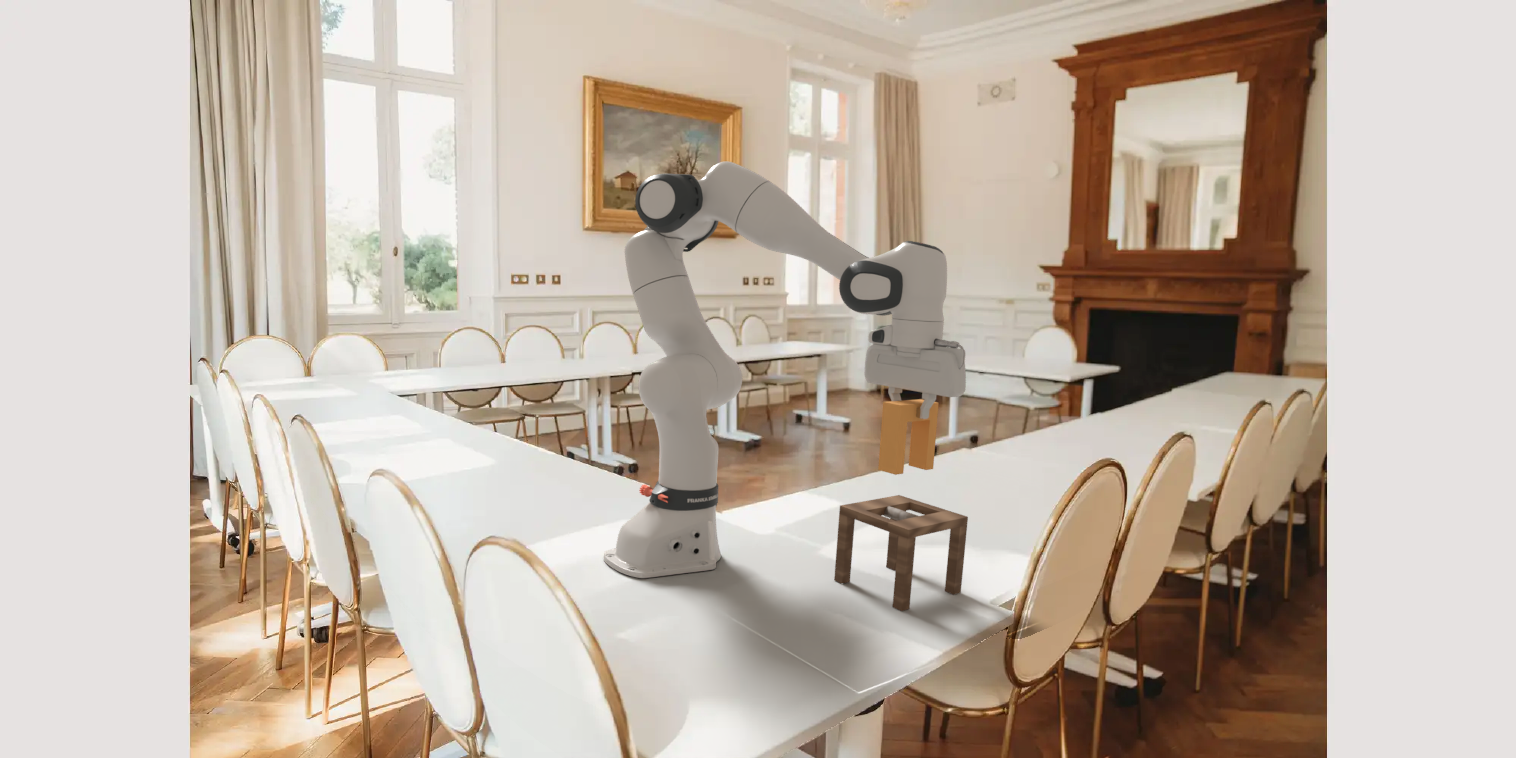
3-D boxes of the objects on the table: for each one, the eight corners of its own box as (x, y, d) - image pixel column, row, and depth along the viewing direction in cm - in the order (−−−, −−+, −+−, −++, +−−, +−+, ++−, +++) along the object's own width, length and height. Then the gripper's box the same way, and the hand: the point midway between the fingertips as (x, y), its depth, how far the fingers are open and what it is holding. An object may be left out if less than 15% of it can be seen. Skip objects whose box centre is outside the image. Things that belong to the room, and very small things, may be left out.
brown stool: (901, 611, 137) (908, 529, 135) (834, 580, 149) (839, 505, 147) (960, 592, 147) (967, 516, 145) (893, 565, 159) (899, 495, 158)
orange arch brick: (895, 474, 140) (900, 405, 139) (878, 469, 143) (883, 401, 142) (933, 468, 146) (938, 402, 145) (915, 464, 149) (921, 399, 148)
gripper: (977, 342, 136) (970, 424, 138) (885, 332, 152) (879, 405, 153) (953, 342, 132) (946, 427, 134) (861, 331, 148) (856, 407, 149)
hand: (910, 415), depth 144 cm, fingers closed on orange arch brick, 4 cm apart
